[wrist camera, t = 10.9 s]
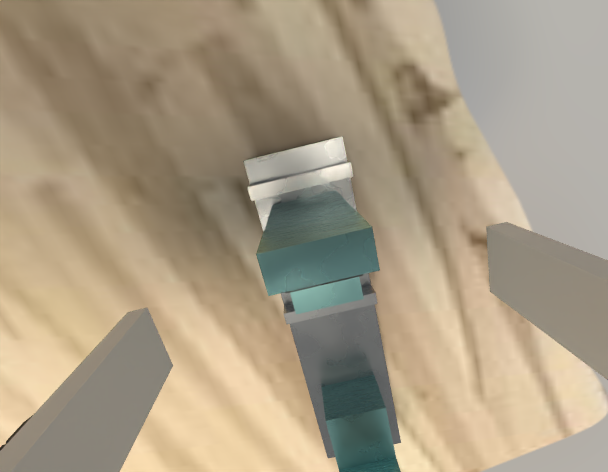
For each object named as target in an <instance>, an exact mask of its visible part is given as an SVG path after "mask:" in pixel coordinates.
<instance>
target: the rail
mask: <svg viewBox="0 0 608 472" xmlns="http://www.w3.org/2000/svg"><path fill="white" fill-rule="evenodd" d="M243 162H244V165H245V169H246V172H247V176H248V179H249V183H250V185H249V186H248V187H247V188H248V192H249V195H250V199H251V201H254V200H255V204H256V207H257V211H258V214H259V218H260V222H261V225H262V229H263V232H264V229H265V226H266V223H267V220H268V217H269V214H270V211H271V208H272V205H275V204H279V203H284V202H288V201H292V200H296V199H300V198H304V197H309V196H313V195H317V194H321V193H325V192H329V191H334V190H336V191H337V192H338V193H339V194H340V195H341V196H342V197H343V198H344V199H345V200H346V201H347V202H348V203H349V204H350V205H351V206H352V207H353V208H354V209H355V210H356V204H355V199H354V194H353V189H352V183H351V178H350V177H353V171H352V165H351V162H348V161H347V157H346V152H345V147H344V141H343V136H342V137H337V138H333V139H329V140H324V141H320V142H316V143H312V144H308V145H304V146H300V147H296V148H292V149H288V150H284V151H280V152H276V153H272V154H268V155H264V156H259V157H255V158H251V159H247V160H244V161H243ZM356 211H357V210H356ZM360 282H361V287H362V292H363V297H364V299H362V300H357V301H353V302H349V303H344V304H340V305H336V306H331V307H327V308H323V309H318V310H314V311H309V312H305V313H301V314H296V313H295V309H294V305H293V302H292V298H291V294H290V293H285V292H284V293H281V295H282V299H283V302H284V317H285V320H286V324H290V327H291V330H292V334H293V337H294V341H295V344H296V348H297V352H298V355H299V359H300V362H301V366H302V369H303V373H304V376H305V380H306V383H307V387H308V390H309V394H310V397H311V401H312V404H313V408H314V411H315V415H316V418H317V422H318V425H319V429H320V432H321V436H322V439H323V443H324V446H325V450H326V453H327V457H328V458H332V457H336V461H337V464H338V468H339V472H401V471H400V468H399V465H398V462H397V459H396V455H395V450H394V445H393V444H397V443H401V440H400V435H399V430H398V424H397V419H396V414H395V409H394V404H393V398H392V393H391V388H390V383H389V377H388V372H387V367H386V362H385V356H384V351H383V346H382V341H381V335H380V330H379V325H378V320H377V314H376V309H375V304H377V299H376V293H375V291H374V289H373V288H372V286H371V283H370V278H369V273H366V274H363V276H360Z"/></svg>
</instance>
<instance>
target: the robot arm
mask: <svg viewBox="0 0 608 472" xmlns="http://www.w3.org/2000/svg"><path fill="white" fill-rule="evenodd" d="M486 229H487V247H488V264H489V282H490V292H491V293H493V294H494V295H495V296H497V297H498V298H499V299H501V300H502V301H503V302H505V303H506V304H507V305H509V306H510V307H511V308H513V309H514V310H515V311H517V312H518V313H519V314H521V315H522V316H523V317H525V318H526V319H527V320H529V321H530V322H531V323H533V324H534V325H535V326H537V327H538V328H539V329H540V330H542V331H543V332H544V333H546V334H547V335H548V336H550V337H551V338H552V339H554V340H555V341H556V342H558V343H559V344H560V345H562V346H563V347H564V348H566V349H567V350H568V351H570V352H571V353H572V354H574V355H575V356H576V357H578V358H579V359H580V360H582V361H583V362H584V363H586V364H587V365H588V366H590V367H591V368H592V369H594V370H595V371H596V372H598V373H599V374H600V375H602V376H603V377H604V378H606V379H607V380H608V260H605V259H603V258H600V257H597V256H595V255H592V254H590V253H587V252H584V251H582V250H579V249H576V248H574V247H571V246H568V245H566V244H563V243H560V242H558V241H555V240H553V239H550V238H547V237H545V236H542V235H539V234H537V233H534V232H532V231H529V230H526V229H524V228H521V227H518V226H516V225H513V224H510V223H508V222H505V223H501V224H497V225H492V226H488V227H486ZM172 367H173V364H172V362H171V360H170V358H169V355H168V353H167V351H166V349H165V346H164V344H163V342H162V340H161V337H160V335H159V333H158V331H157V328H156V326H155V324H154V322H153V319H152V317H151V315H150V313H149V310H148V308H143V309H139V310H135V311H131V312H128V313H127V314H126V315H125V316H124V317H123V318H122V319H121V320H120V321H119V322H118V324H117V325H116V326H115V327H114V328H113V329H112V330H111V331H110V332H109V333H108V334H107V335H106V337H105V338H104V339H103V340H102V341H101V342H100V343H99V344H98V345H97V346H96V347H95V349H94V350H93V351H92V352H91V353H90V354H89V355H88V356H87V357H86V358H85V359H84V361H83V362H82V363H81V364H80V365H79V366H78V367H77V368H76V369H75V370H74V371H73V372H72V374H71V375H70V376H69V377H68V378H67V379H66V380H65V381H64V382H63V383H62V384H61V386H60V387H59V388H58V389H57V390H56V391H55V392H54V393H53V394H52V395H51V396H50V397H49V399H48V400H47V401H46V402H45V403H44V404H43V405H42V406H41V407H40V408H39V409H38V411H37V412H36V413H35V414H34V415H32V416H31V417H30V418H29V419H27V420H26V421H25V422H24V423H23V424H22V425H21V426H20V427H19V428H18V429H17V430H16V431H15V432H14V433H13V434H12V436H11V437H10V438H9V439H8V440H7V441H6V444H5V445H2V446H1V447H0V472H120V470H121V468H122V466H123V464H124V462H125V460H126V458H127V456H128V454H129V452H130V450H131V448H132V446H133V444H134V442H135V440H136V438H137V436H138V434H139V432H140V430H141V428H142V426H143V424H144V422H145V420H146V418H147V416H148V414H149V412H150V410H151V408H152V406H153V404H154V402H155V400H156V398H157V396H158V394H159V392H160V390H161V388H162V386H163V384H164V382H165V380H166V378H167V376H168V374H169V372H170V370H171V368H172Z"/></svg>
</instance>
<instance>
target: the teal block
mask: <svg viewBox="0 0 608 472" xmlns="http://www.w3.org/2000/svg"><path fill="white" fill-rule="evenodd" d="M256 255H257V259H258V262H259V265H260V269H261V272H262V275H263V279H264V282H265V286H266V289H267V292H268V296H271V295H275V294H279V293H284V292H285V293H290V294H291V298H292V302H293V305H294V309H295V313H296V314H301V313H305V312H309V311H314V310H318V309H323V308H327V307H331V306H336V305H340V304H344V303H349V302H353V301H357V300H362V299H364V297H363V292H362V287H361V282H360V276H363V274H366V273H370V272H374V271H379V270H380V269H379V263H378V257H377V252H376V246H375V241H374V235H373V229H372V227H371V225H370V224H369V223H368V222H367V221H366V220H365V219H364V218H363V217H362V216H361V215H360V214H359V213H358V212H357V211H356V210H355V209H354V208H353V207H352V206H351V205H350V204H349V203H348V202H347V201H346V200H345V199H344V198H343V197H342V196H341V195H340V194H339V193H338V192H337V191H336V190H334V191H329V192H325V193H321V194H317V195H313V196H309V197H304V198H300V199H296V200H292V201H288V202H284V203H279V204H275V205H272V208H271V211H270V214H269V217H268V220H267V223H266V226H265V229H264V232H263V235H262V238H261V242H260V245H259V248H258V251H257V254H256Z"/></svg>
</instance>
